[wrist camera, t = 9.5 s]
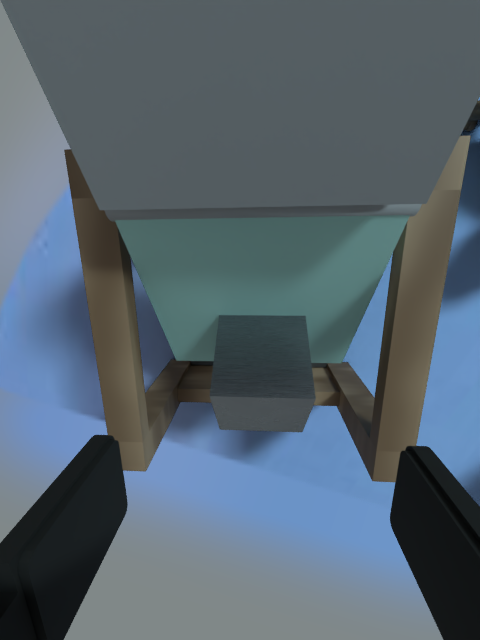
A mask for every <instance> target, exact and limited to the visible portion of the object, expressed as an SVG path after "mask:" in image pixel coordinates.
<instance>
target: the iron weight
mask: <svg viewBox="0 0 480 640" xmlns="http://www.w3.org/2000/svg"><path fill="white" fill-rule="evenodd" d="M210 399H211V403H212V406H213V409H214V412H215V415H216V418H217V422H218V425H219V428H220V429H222V430H252V431H281V432H303V429H304V427H305V424H306V422H307V419H308V417H309V414H310V412H311V410H312V407H313V405H314V402H315V400H316V396H315V388H314V380H313V372H312V364H311V356H310V348H309V340H308V331H307V323H306V316H274V315H219V320H218V329H217V337H216V346H215V354H214V362H213V371H212V379H211V388H210Z"/></svg>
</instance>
